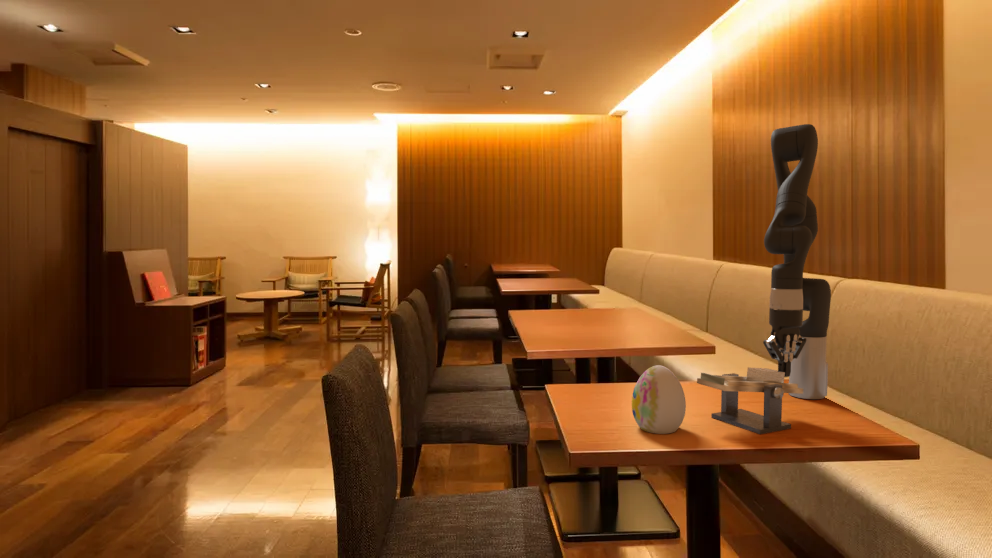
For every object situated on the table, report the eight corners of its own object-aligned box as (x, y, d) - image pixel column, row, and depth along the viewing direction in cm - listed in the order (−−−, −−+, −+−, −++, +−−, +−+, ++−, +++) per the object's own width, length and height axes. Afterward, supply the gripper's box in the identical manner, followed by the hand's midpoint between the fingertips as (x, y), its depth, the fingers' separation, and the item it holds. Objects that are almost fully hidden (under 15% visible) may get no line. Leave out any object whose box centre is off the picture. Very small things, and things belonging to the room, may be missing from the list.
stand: (738, 411, 161) (739, 371, 160) (793, 429, 146) (795, 384, 145) (709, 416, 157) (709, 375, 156) (763, 435, 142) (764, 389, 141)
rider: (766, 382, 157) (768, 368, 157) (783, 386, 152) (784, 372, 152) (746, 381, 154) (747, 367, 154) (762, 385, 149) (764, 371, 149)
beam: (770, 386, 161) (771, 374, 161) (806, 395, 152) (808, 383, 152) (693, 383, 150) (694, 371, 150) (727, 393, 140) (729, 380, 140)
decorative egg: (627, 421, 153) (627, 360, 152) (677, 421, 153) (678, 360, 152) (636, 436, 141) (637, 370, 140) (691, 437, 141) (692, 371, 140)
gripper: (791, 304, 161) (789, 371, 162) (754, 306, 155) (752, 376, 156) (817, 307, 154) (815, 376, 155) (779, 309, 148) (777, 382, 149)
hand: (784, 376), depth 156 cm, fingers closed
